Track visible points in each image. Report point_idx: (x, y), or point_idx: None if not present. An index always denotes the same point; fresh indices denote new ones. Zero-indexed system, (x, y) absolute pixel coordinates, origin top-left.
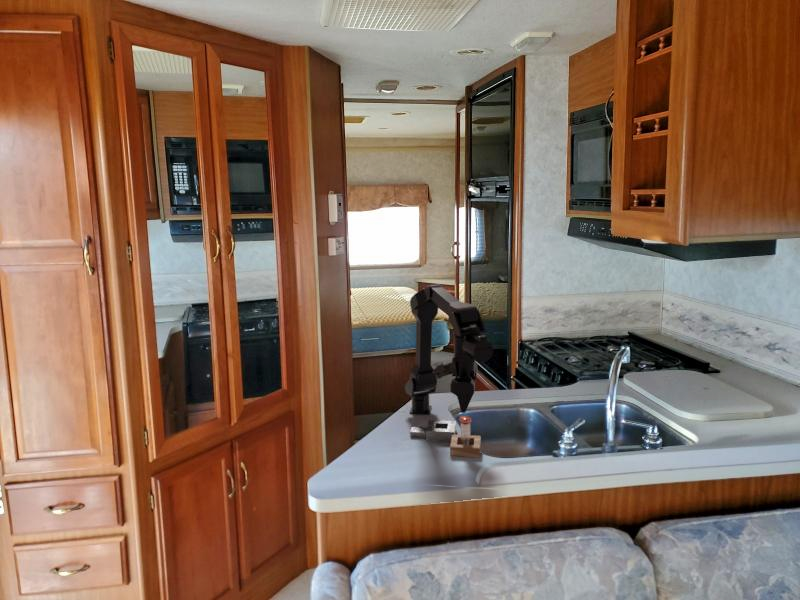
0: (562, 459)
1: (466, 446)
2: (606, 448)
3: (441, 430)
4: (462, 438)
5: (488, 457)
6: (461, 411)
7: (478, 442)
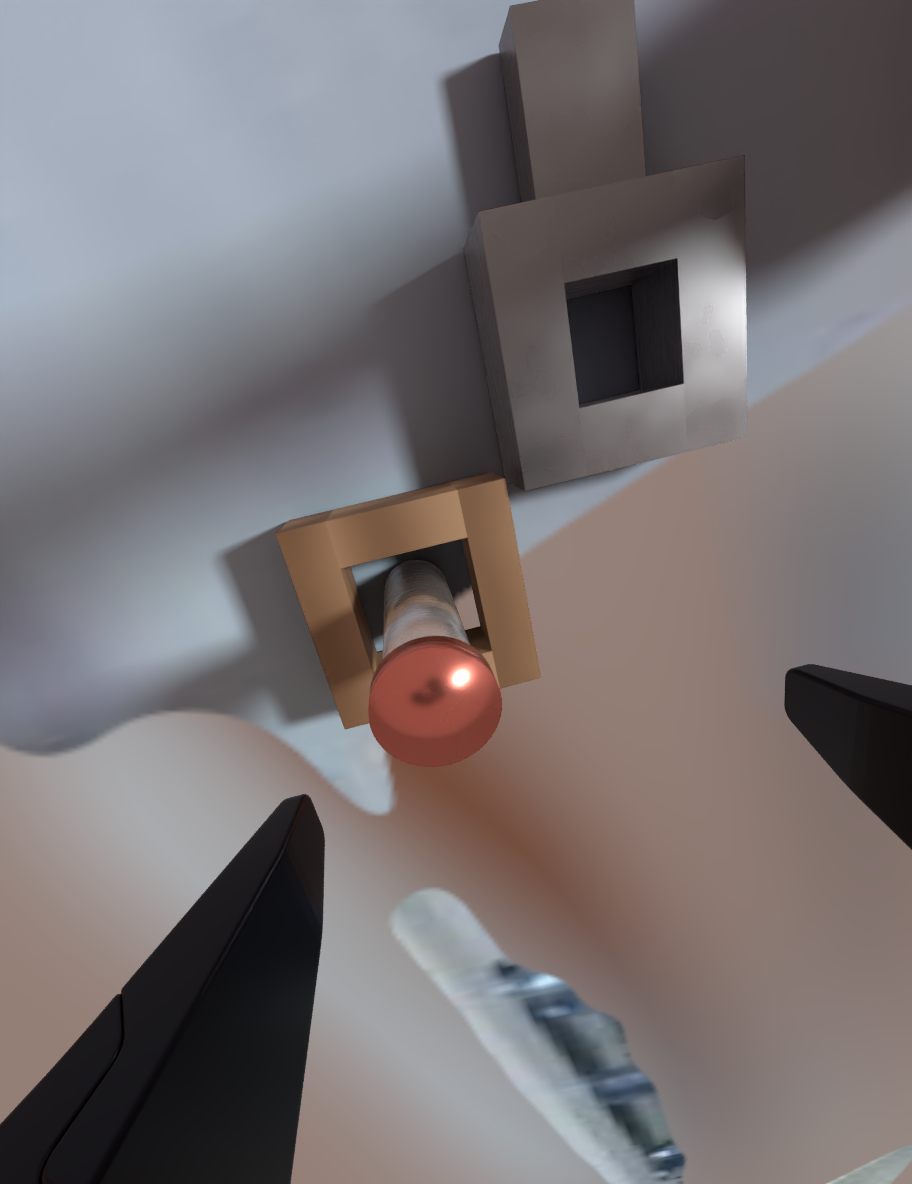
0: (479, 996)
1: (338, 642)
2: (625, 1078)
3: (530, 368)
4: (386, 611)
5: None
6: (277, 813)
7: None
